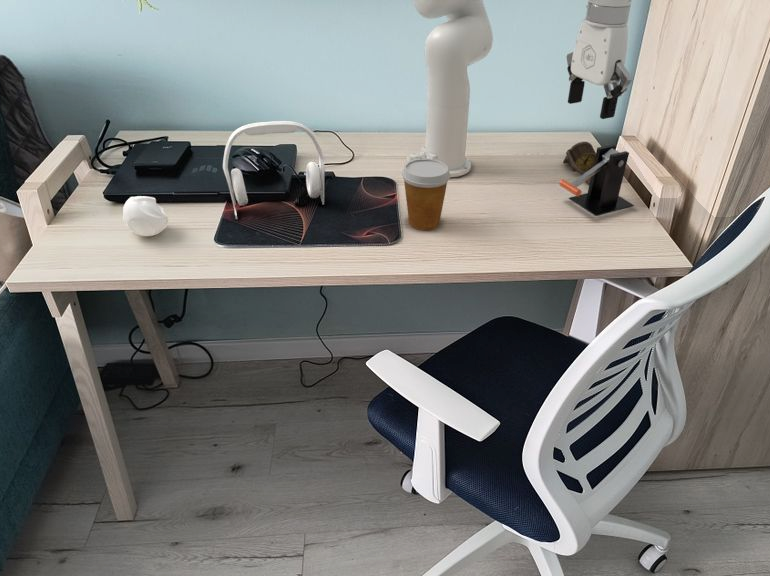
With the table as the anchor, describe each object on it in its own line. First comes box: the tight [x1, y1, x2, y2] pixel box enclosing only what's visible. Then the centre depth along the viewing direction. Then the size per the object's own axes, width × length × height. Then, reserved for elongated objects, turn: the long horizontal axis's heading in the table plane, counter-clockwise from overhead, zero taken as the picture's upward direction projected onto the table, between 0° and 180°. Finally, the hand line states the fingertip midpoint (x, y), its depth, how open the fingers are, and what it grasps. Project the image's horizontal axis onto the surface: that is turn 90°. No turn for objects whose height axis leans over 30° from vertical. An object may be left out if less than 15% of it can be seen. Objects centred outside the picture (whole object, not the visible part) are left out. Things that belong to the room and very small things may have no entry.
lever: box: [558, 148, 620, 196], centre depth 133 cm, size 13×6×2 cm, turn 120°
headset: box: [222, 120, 325, 220], centre depth 128 cm, size 20×7×18 cm, turn 109°
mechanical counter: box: [562, 141, 596, 186], centre depth 150 cm, size 7×13×10 cm
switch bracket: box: [568, 143, 635, 217], centre depth 137 cm, size 11×9×13 cm
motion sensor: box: [122, 195, 169, 237], centre depth 121 cm, size 8×8×8 cm
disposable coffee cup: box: [401, 159, 451, 231], centre depth 128 cm, size 10×10×12 cm
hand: (590, 109), depth 127 cm, fingers open, 9 cm apart
